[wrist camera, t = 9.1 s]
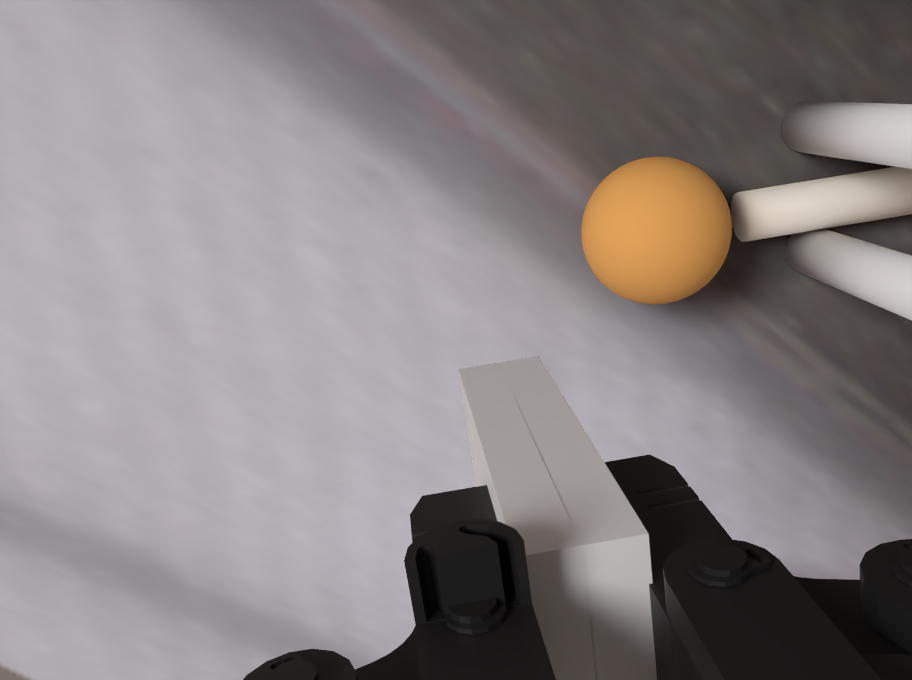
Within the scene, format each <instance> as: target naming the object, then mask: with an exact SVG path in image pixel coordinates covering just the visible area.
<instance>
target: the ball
mask: <svg viewBox="0 0 912 680" xmlns="http://www.w3.org/2000/svg"><path fill="white" fill-rule="evenodd" d="M581 234H582V245H583V249H584V253H585V256H586V259H587V261H588V264H589V265H590V267H591V269H592V271H593V272H594V274H595V275H596V276H597V278H598V279H599V280H600V281H601V282H602V283H603V284H604V285H605V286H606V287H607V288H609V289H610V290H611V291H613V292H614V293H616V294H618V295H619V296H621V297H623V298H625V299H628V300H631V301H634V302H638V303H644V304H666V303H670V302H675V301H679V300H681V299H683V298H686V297H688V296H691V295H692V294H694V293H696V292H697V291H699V290H700V289H701V288H703V287H704V286H705V285H706V284H707V283H708V282H709V281H710V280H711V279H712V278H713V277H714V276H715V275H716V273H717V272H718V271H719V269H720V268H721V266H722V264H723V262H724V261H725V258H726V256H727V253H728V250H729V247H730V242H731V235H732V220H731V214H730V210H729V207H728V204H727V201H726V199H725V196H724V195H723V193H722V191H721V190H720V188H719V187H718V185H717V184H716V183H715V182H714V180H713V179H712V178H710V177H709V176H708V175H707V174H706V173H705V172H704V171H702V170H701V169H699V168H698V167H696V166H694V165H693V164H690V163H688V162H685V161H683V160H680V159H675V158H670V157H648V158H642V159H638V160H635V161H632V162H629V163H627V164H625V165H623V166H621V167H619V168H618V169H616V170H615V171H613V172H612V173H611V174H609V175H608V176H607V177H606V178H605V179H604V180H603V181H602V182H601V183H600V184H599V185H598V187H597V188H596V189H595V191H594V192H593V194H592V195H591V197H590V199H589V201H588V203H587V206H586V208H585V212H584V215H583V221H582V230H581Z"/></svg>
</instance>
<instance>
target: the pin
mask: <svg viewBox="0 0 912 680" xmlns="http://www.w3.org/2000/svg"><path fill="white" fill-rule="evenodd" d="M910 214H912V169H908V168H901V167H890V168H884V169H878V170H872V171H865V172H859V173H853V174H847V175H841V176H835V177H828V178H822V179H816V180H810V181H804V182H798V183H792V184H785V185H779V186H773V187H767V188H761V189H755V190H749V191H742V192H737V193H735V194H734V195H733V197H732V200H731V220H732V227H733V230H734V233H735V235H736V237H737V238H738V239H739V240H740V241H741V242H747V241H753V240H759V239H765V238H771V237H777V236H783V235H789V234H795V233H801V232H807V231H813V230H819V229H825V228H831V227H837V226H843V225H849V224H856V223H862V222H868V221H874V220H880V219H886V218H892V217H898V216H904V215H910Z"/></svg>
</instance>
